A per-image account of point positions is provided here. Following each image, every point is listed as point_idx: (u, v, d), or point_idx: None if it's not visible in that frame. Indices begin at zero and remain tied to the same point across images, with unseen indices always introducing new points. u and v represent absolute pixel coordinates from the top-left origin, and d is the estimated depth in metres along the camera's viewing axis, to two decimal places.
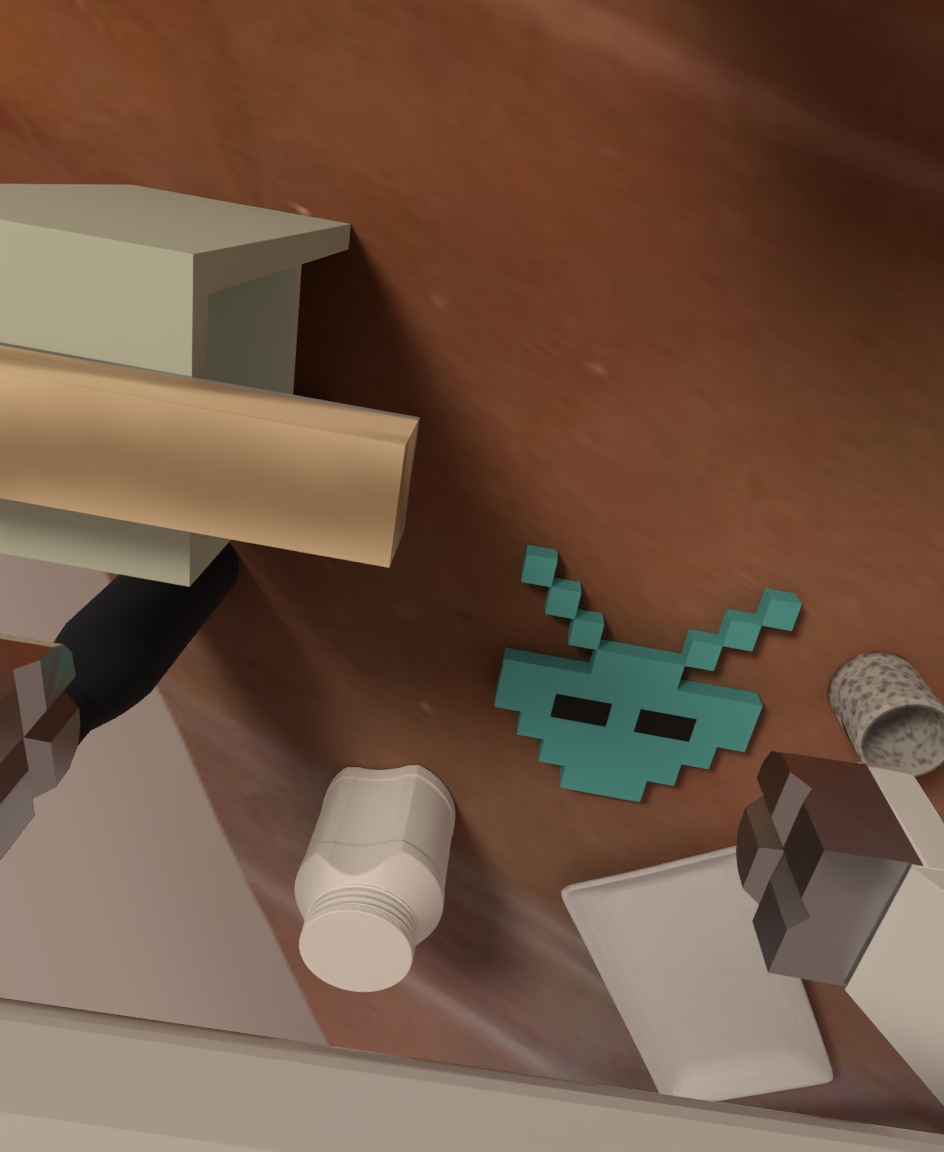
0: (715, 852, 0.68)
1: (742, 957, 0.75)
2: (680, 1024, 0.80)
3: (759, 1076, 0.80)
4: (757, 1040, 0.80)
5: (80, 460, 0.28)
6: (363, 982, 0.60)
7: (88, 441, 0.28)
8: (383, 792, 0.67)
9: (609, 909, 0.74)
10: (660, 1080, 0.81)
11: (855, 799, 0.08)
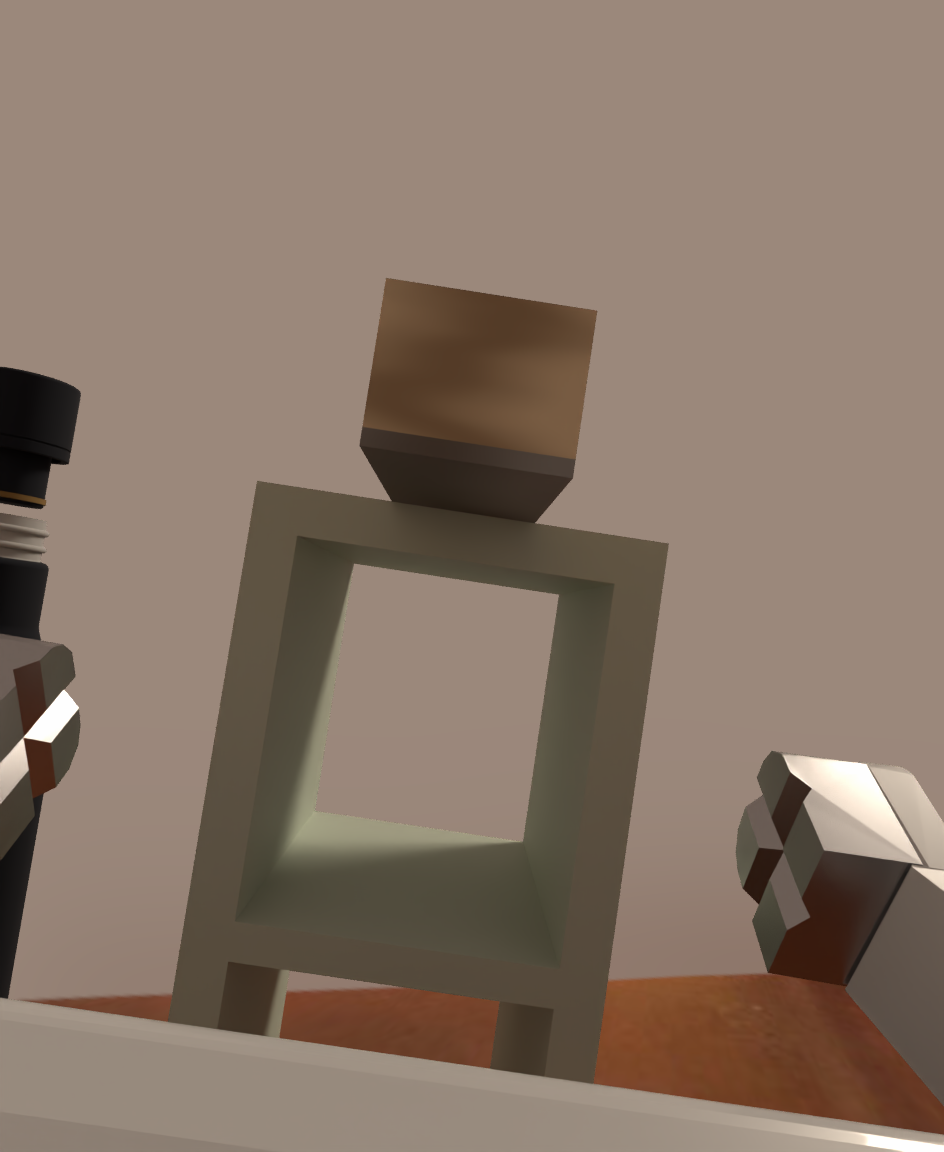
0: None
1: None
2: None
3: None
4: None
5: None
6: None
7: None
8: None
9: None
10: None
11: (855, 799, 0.08)
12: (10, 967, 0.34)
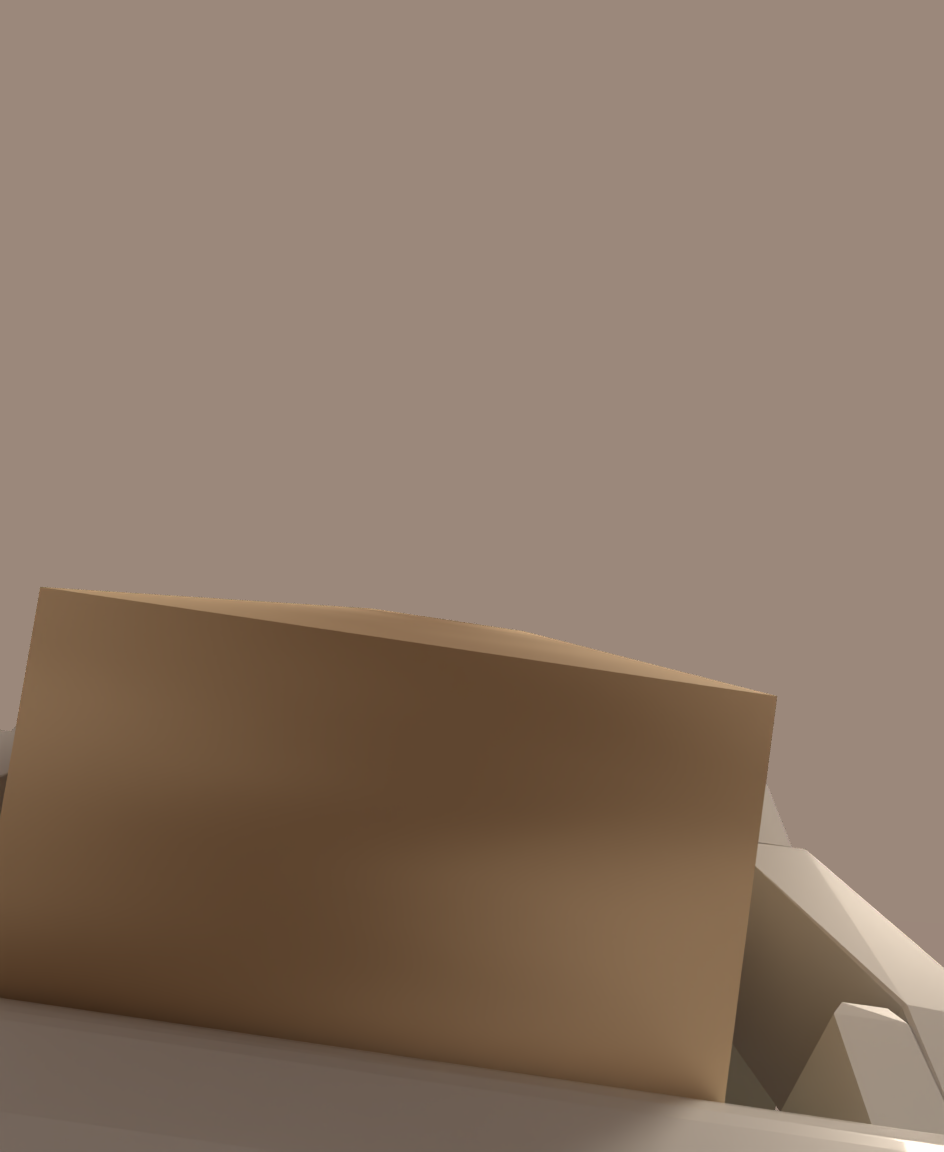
0: None
1: None
2: None
3: None
4: None
5: (427, 620, 0.16)
6: None
7: (464, 626, 0.16)
8: None
9: None
10: None
11: None
12: None
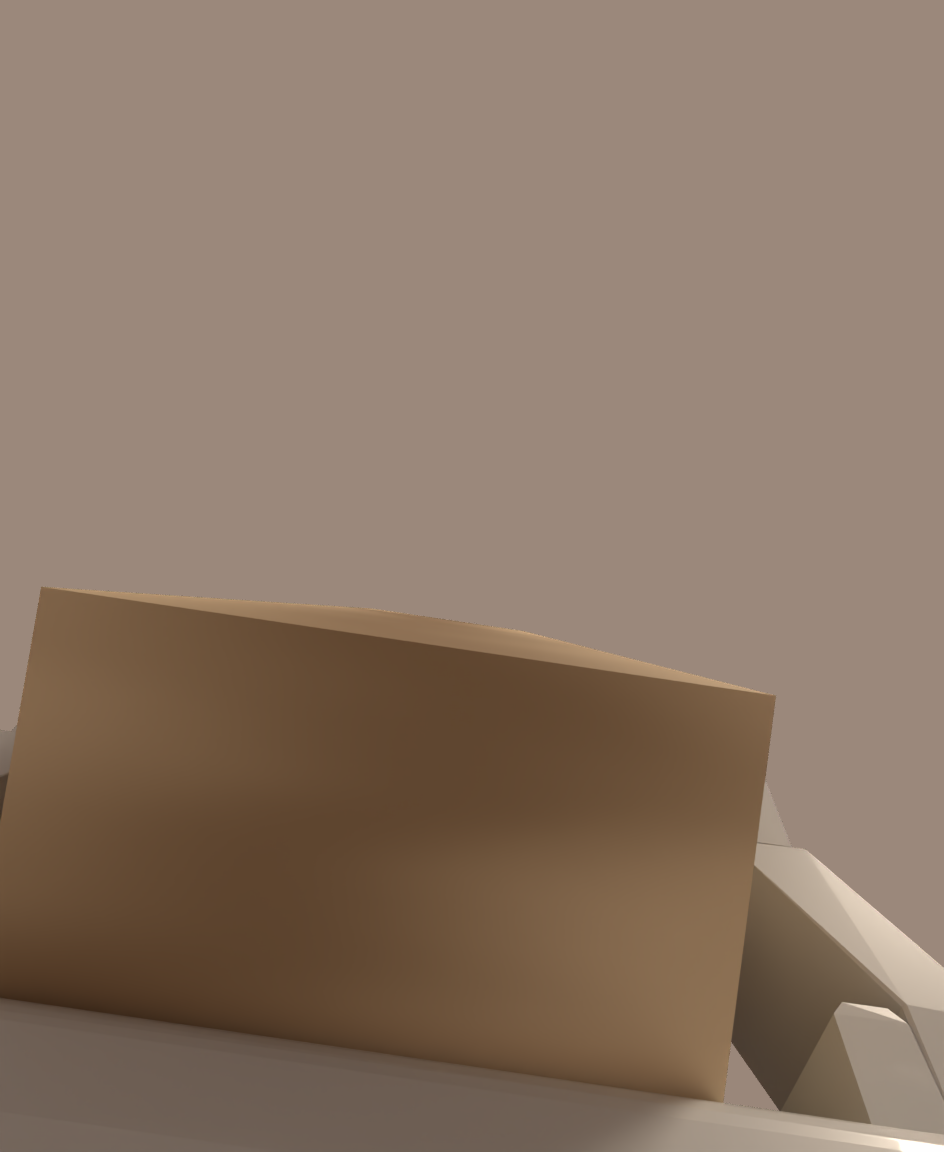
0: None
1: None
2: None
3: None
4: None
5: (427, 620, 0.16)
6: None
7: (464, 626, 0.16)
8: None
9: None
10: None
11: None
12: None
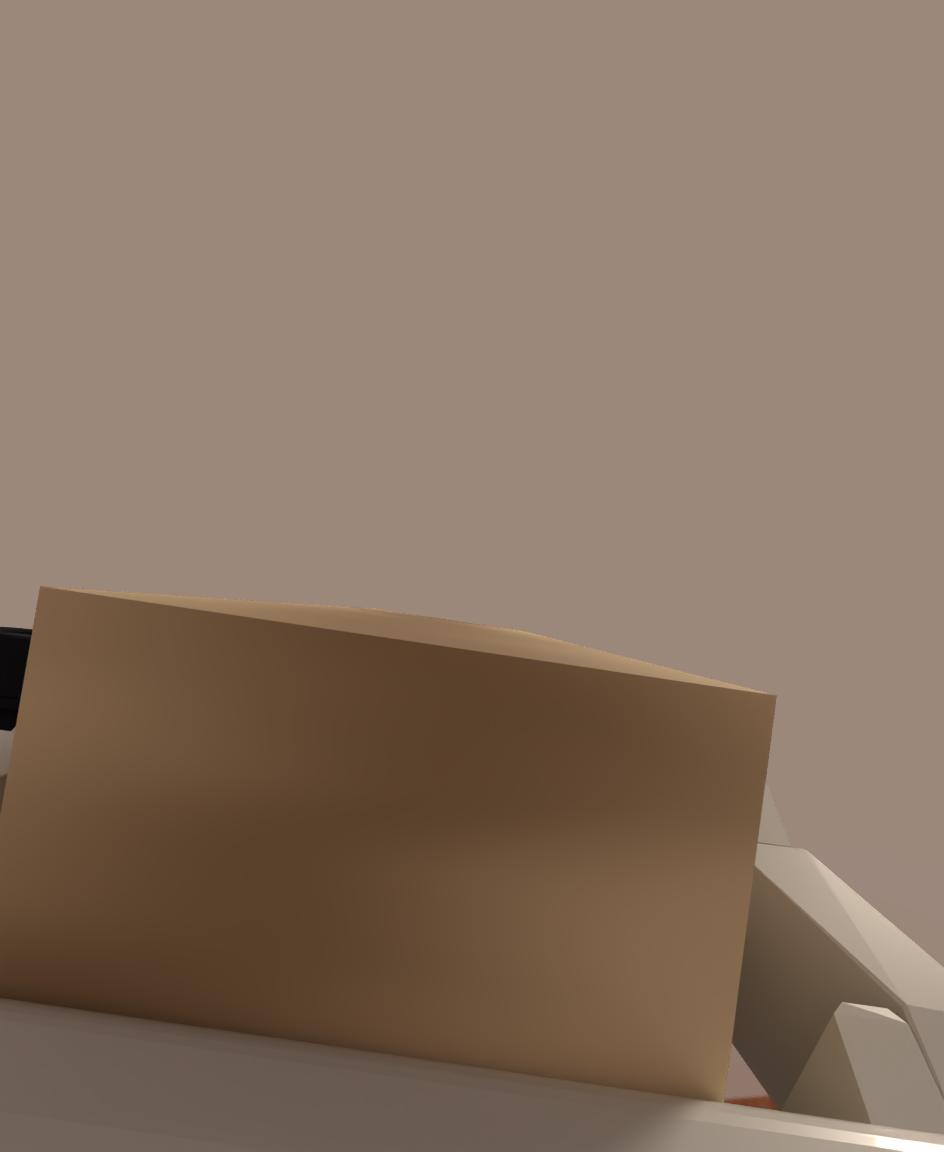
0: None
1: None
2: None
3: None
4: None
5: (427, 620, 0.16)
6: None
7: None
8: None
9: None
10: None
11: None
12: None
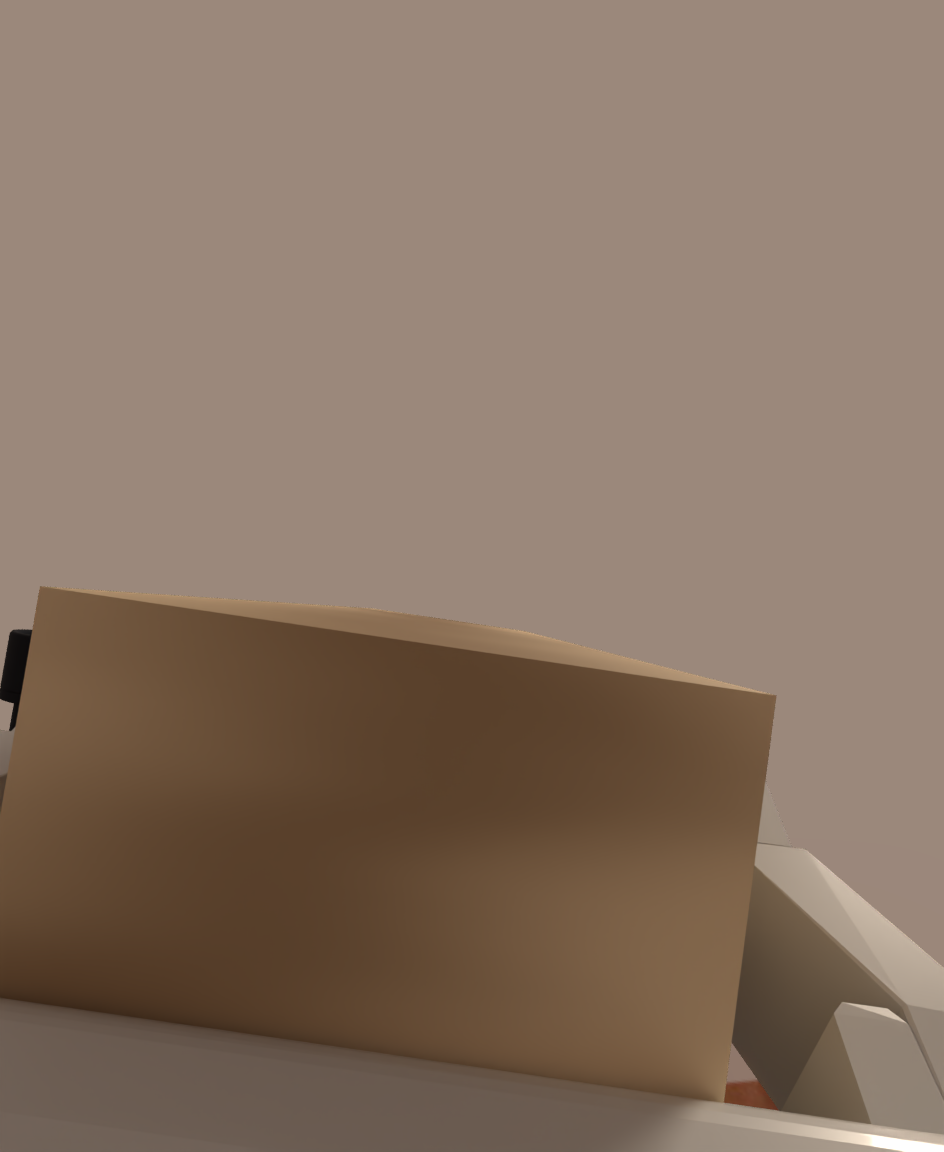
0: None
1: None
2: None
3: None
4: None
5: (427, 620, 0.16)
6: None
7: None
8: None
9: None
10: None
11: None
12: None
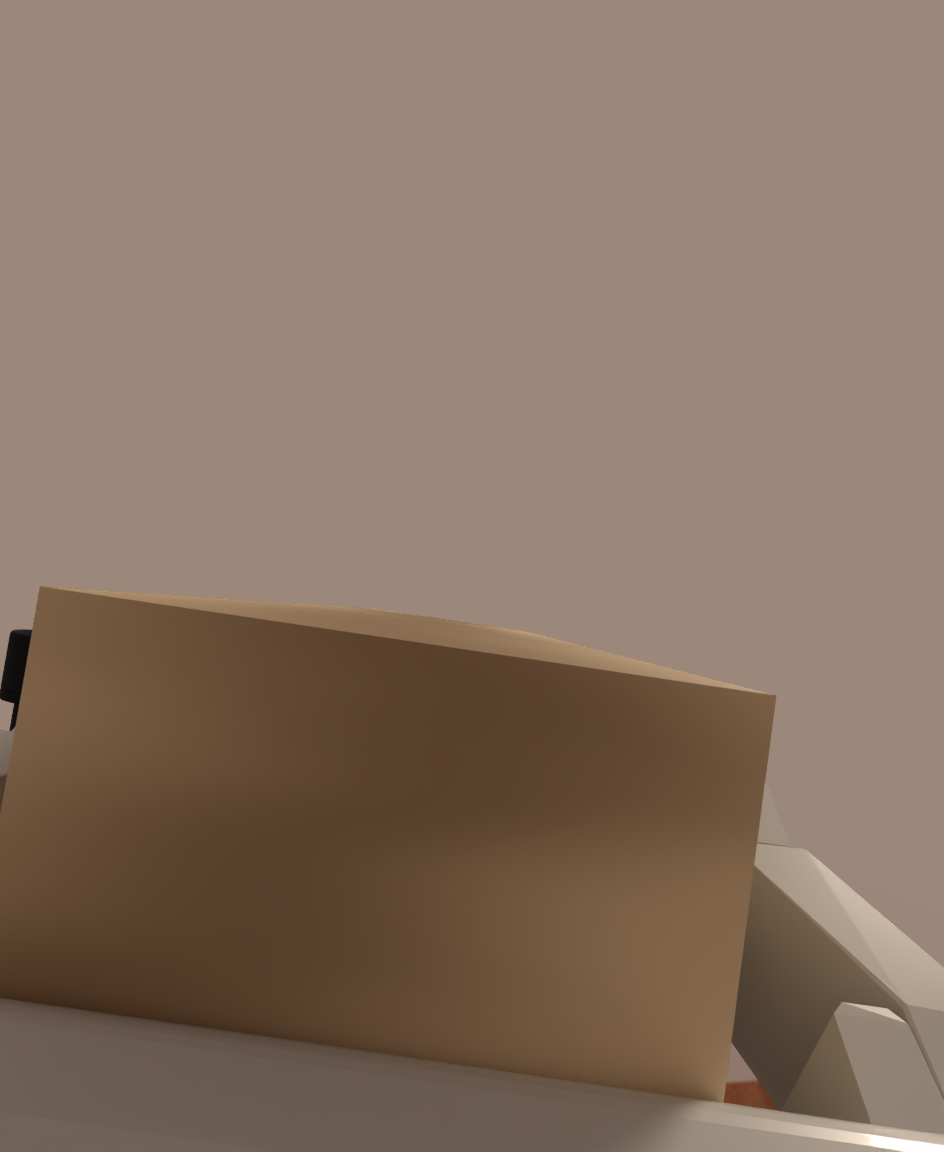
0: None
1: None
2: None
3: None
4: None
5: (427, 620, 0.16)
6: None
7: None
8: None
9: None
10: None
11: None
12: None
